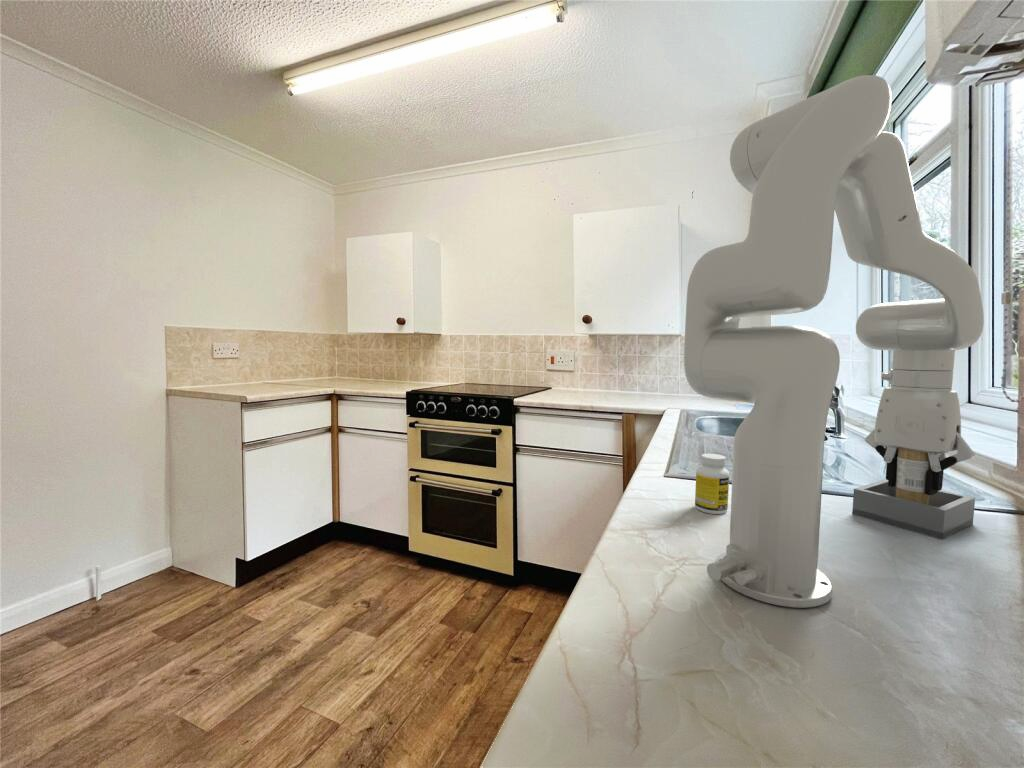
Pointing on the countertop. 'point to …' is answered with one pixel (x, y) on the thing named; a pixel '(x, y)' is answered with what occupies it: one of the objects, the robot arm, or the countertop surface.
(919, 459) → the sprinkles bottle
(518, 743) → the countertop surface
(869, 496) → the charcoal bin
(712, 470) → the supplement bottle
